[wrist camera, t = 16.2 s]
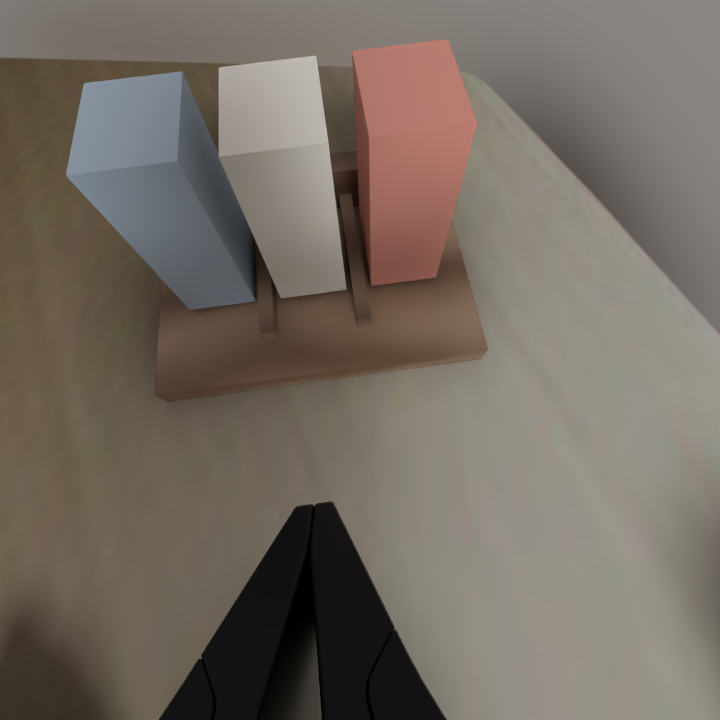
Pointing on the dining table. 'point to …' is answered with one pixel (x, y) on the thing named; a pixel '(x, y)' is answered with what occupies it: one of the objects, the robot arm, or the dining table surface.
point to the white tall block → (283, 170)
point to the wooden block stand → (320, 322)
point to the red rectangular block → (409, 155)
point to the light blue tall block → (164, 186)
